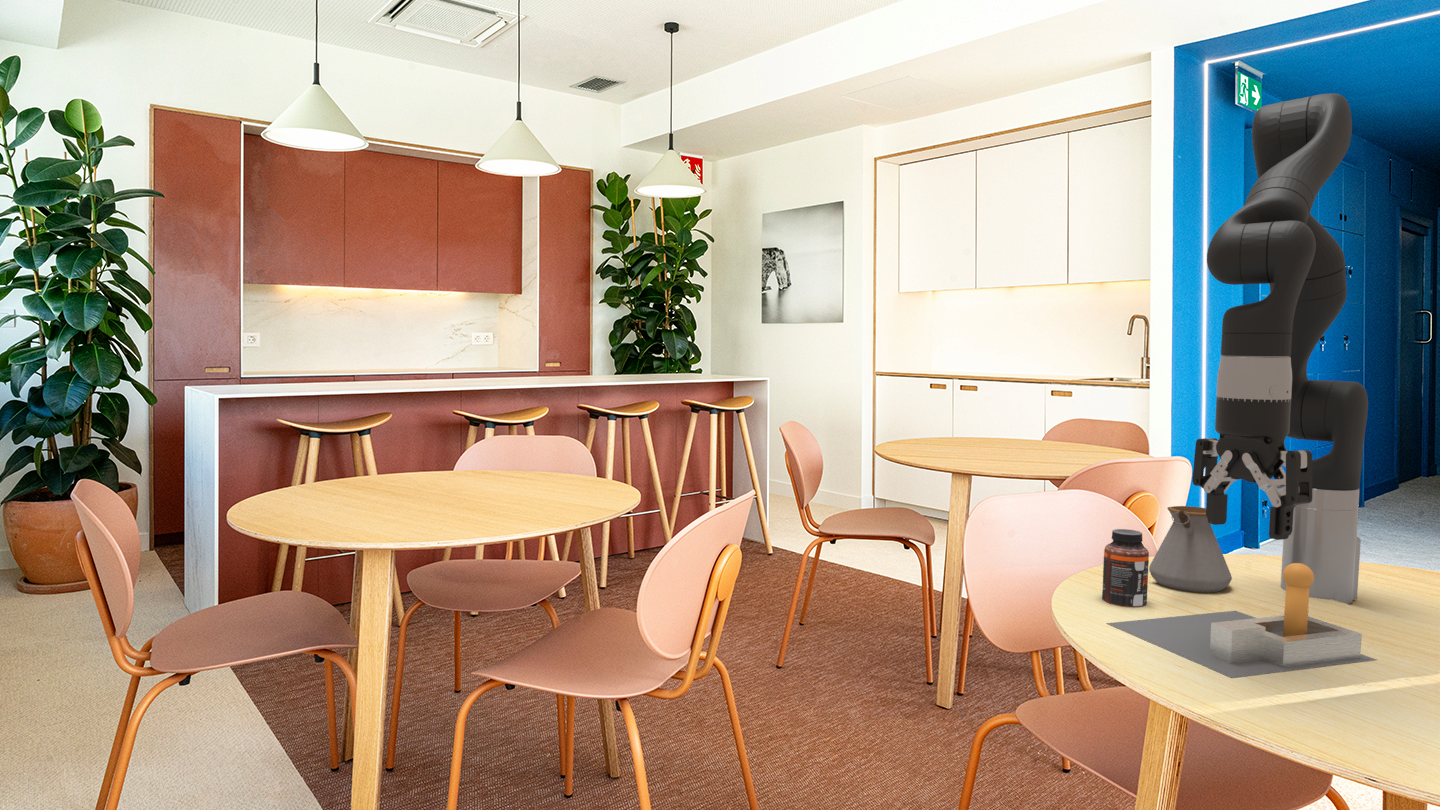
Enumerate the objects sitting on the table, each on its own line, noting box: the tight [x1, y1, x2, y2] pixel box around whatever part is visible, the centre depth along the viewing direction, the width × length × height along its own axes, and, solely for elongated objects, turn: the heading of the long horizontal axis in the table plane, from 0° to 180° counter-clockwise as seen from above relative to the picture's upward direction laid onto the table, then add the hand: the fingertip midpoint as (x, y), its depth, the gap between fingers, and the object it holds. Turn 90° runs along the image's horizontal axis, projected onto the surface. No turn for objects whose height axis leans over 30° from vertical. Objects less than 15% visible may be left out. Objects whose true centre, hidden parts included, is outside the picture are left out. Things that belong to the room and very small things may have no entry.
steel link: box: [1210, 615, 1363, 667], centre depth 107 cm, size 17×8×4 cm, turn 107°
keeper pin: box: [1283, 563, 1314, 637], centre depth 107 cm, size 3×3×11 cm
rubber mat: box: [1105, 610, 1378, 679], centre depth 111 cm, size 22×20×1 cm
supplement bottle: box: [1101, 528, 1150, 608], centre depth 128 cm, size 6×6×11 cm
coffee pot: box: [1148, 505, 1233, 594], centre depth 133 cm, size 21×12×15 cm, turn 146°
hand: (1246, 531), depth 104 cm, fingers open, 8 cm apart
